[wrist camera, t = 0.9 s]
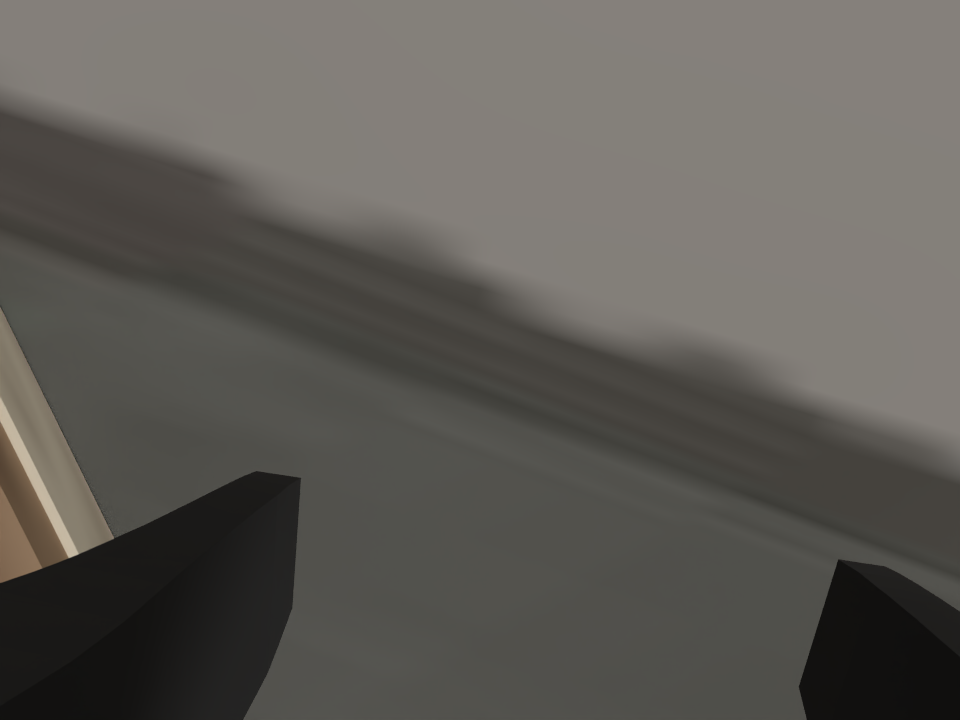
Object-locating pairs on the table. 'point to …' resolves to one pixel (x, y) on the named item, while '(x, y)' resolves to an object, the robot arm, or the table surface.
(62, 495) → the beige flat block
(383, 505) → the table surface
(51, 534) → the tile
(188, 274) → the table surface
